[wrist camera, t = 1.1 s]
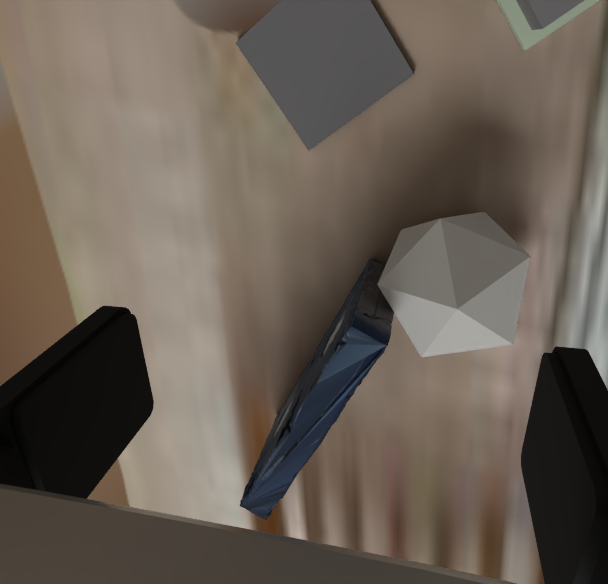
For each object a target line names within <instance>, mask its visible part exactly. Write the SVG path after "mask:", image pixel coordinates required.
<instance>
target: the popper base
mask: <svg viewBox="0 0 608 584" xmlns="http://www.w3.org/2000/svg"><path fill="white" fill-rule="evenodd" d="M496 1H497V3H498V5H499V7H500V8H501V10H502V12H503V14H504V16H505V18H506V20H507V22H508V24H509V25H510V27H511V29H512V31H513V33H514V35H515V37H516V39H517V40H518V42H519V44H520V46H521V48H522V50H527V49H528V48H530V47H531V46H533V45H534V44H536V43H537V42H539V41H540V40H542V39H543V38H545V37H546V36H547V35H549V34H550V33H552V32H553V31H555V30H556V29H558V28H559V27H561V26H562V25H564V24H565V23H567V22H568V21H570V20H571V19H573V18H574V17H576V16H577V15H579V14H580V13H581V12H583V11H584V10H586V9H587V8H589V7H590V6H592V5H593V4H595V3H596V2H598V1H599V0H496Z"/></svg>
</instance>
